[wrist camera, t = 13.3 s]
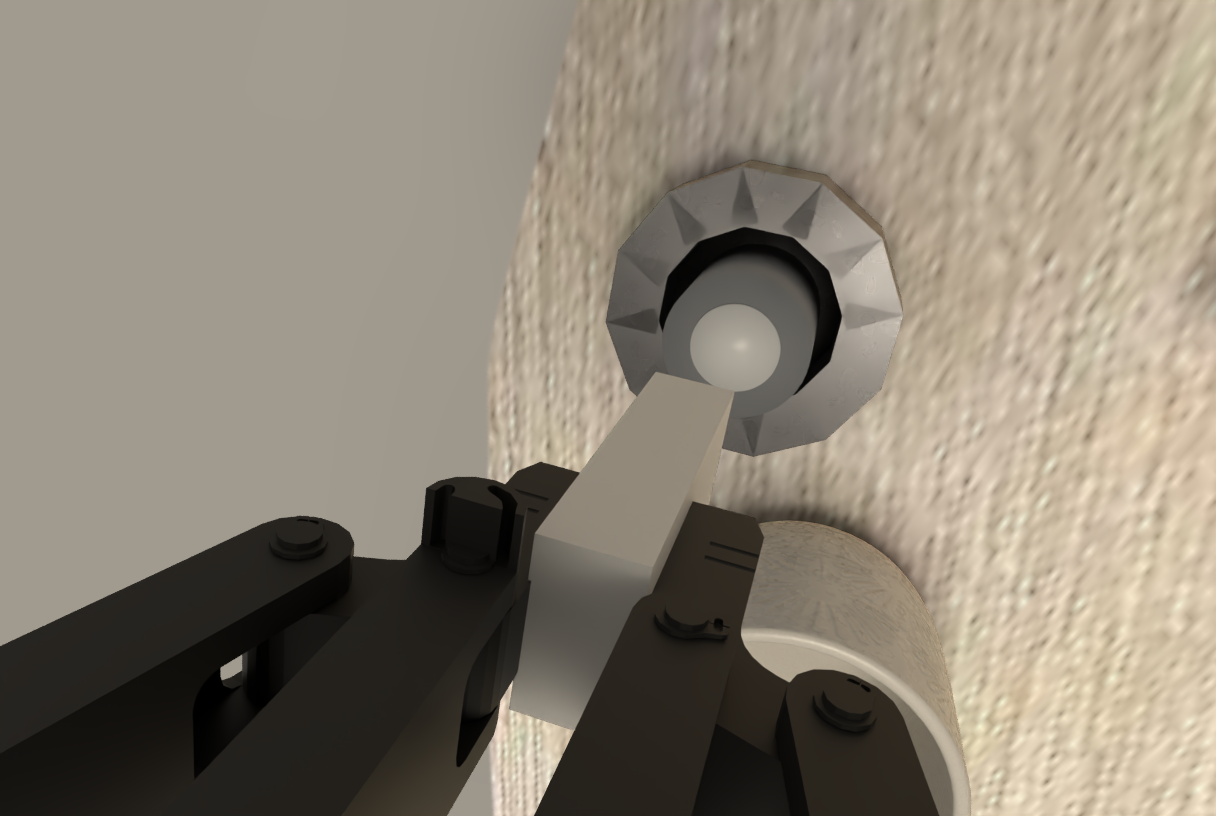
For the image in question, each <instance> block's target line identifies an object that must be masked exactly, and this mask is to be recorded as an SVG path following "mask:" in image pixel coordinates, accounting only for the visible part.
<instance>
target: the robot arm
mask: <svg viewBox="0 0 1216 816" xmlns="http://www.w3.org/2000/svg"><path fill="white" fill-rule="evenodd" d="M734 392H735V391H732V390H728V389H724V388H720V387H716V386H712V385H707V384H703V383H699V382H695V381H691V380H687V379H683V378H679V377H675V376H671V375H667V374H663V373H659V372H655V374H654V375H653V376H652V378H651V379H650V380H649V382H648V383H647V384H646V386H645V387H644V388H643V390H642V391H641V392H640V394H639V395H638V396H637V398H636V399H635V400H634V402H633V403H632V404H631V406H630V407H629V408H628V410H627V411H626V412H625V414H624V415H623V416H622V418H621V419H620V420H619V422H618V423H617V424H616V426H615V427H614V428H613V430H612V431H611V432H610V434H609V435H608V436H607V438H606V439H605V440H604V442H603V443H602V444H601V446H600V447H599V448H598V450H597V451H596V452H595V454H594V455H593V456H592V458H591V459H590V460H589V462H588V463H587V464H586V466H585V467H584V468H583V470H582V471H581V472H580V473H579V472H576V471H572V470H568V469H565V468H561V467H557V466H554V465H550V464H546V463H543V462H539V463H537V464H534V465H532V466H529V467H527V468H524V469H522V470H519V471H517V472H516V473H515V474H514V475H513V476H512V478H511V479H510V480H509V481H508V482H507V483H506V484H503V483H500V482H498V481H495V480H490V479H485V478H479V477H454V478H450V479H445V480H441V481H438V482H436V483H434V484H432V485H431V486H429V487H427V488H426V496H425V508H424V518H423V529H422V540H421V545H420V546H419V547H418V548H417V549H416V550H415V551H414V552H413V553H412V554H411V555H410V556H409V557H408V558H407V559H406V560H386V559H375V558H365V557H354V556H353V555H354V541H353V539H352V537H351V535H350V532H348V531H347V530H346V529H344V528H343V527H342V526H340V525H339V524H337V523H334V522H331V521H328V520H325V519H322V518H317V517H309V516H296V517H288V518H279V519H276V520H273V521H270V522H267V523H264V524H261V525H259V526H257V527H255V528H252V529H250V530H248V531H246V532H244V533H242V534H240V535H237V536H235V537H233V538H231V539H229V540H227V541H224V542H222V543H220V544H218V545H216V546H214V547H212V548H209V549H207V550H205V551H203V552H201V553H199V554H197V555H194V556H192V557H190V558H188V559H186V560H184V561H182V562H179V563H177V564H175V565H173V566H171V567H169V568H167V569H165V570H162V571H160V572H158V573H156V574H154V575H152V576H149V577H147V578H145V579H143V580H141V581H139V582H137V583H135V584H132V585H130V586H128V587H126V588H124V589H122V590H120V591H117V592H115V593H113V594H111V595H109V596H107V597H105V598H103V599H100V600H98V601H96V602H94V603H92V604H90V605H87V606H85V607H83V608H81V609H79V610H77V611H75V612H73V613H70V614H68V615H66V616H64V617H62V618H60V619H58V620H55V621H53V622H51V623H49V624H47V625H45V626H42V627H40V628H38V629H36V630H34V631H32V632H30V633H27V634H25V635H23V636H21V637H19V638H17V639H15V640H12V641H10V642H8V643H6V644H4V645H2V646H0V816H447V815H448V813H449V811H450V809H451V808H452V806H453V804H454V803H455V801H456V799H457V797H458V796H459V794H460V792H461V790H462V789H463V787H464V785H465V784H466V782H467V780H468V778H469V777H470V775H471V773H472V772H473V770H474V768H475V766H476V765H477V763H478V761H479V760H480V758H481V756H482V754H483V752H484V751H485V749H486V747H487V746H488V744H489V742H490V741H491V739H492V737H493V735H494V732H495V729H496V725H497V721H498V714H499V707H500V700H501V699H502V697H503V695H504V694H505V692H506V690H507V689H508V687H509V685H510V684H511V682H512V681H513V686H512V692H511V699H510V706H509V709H510V710H513V711H516V712H519V713H522V714H525V715H528V716H531V717H534V718H537V719H540V720H543V721H546V722H549V723H552V724H555V725H558V726H561V727H564V728H567V729H570V730H573V731H574V733H573V735H572V737H571V739H570V741H569V743H568V745H567V747H566V749H565V752H564V754H563V756H562V758H561V760H560V762H559V764H558V766H557V768H556V771H555V773H554V775H553V777H552V779H551V781H550V783H549V785H548V787H547V790H546V792H545V794H544V796H543V798H542V800H541V802H540V804H539V807H538V809H537V811H536V813H535V815H534V816H939V813H938V810H937V808H936V805H935V802H934V800H933V797H932V794H931V791H930V789H929V786H928V783H927V780H926V778H925V775H924V772H923V769H922V767H921V764H920V761H919V759H918V756H917V753H916V750H915V748H914V745H913V742H912V739H911V737H910V734H909V731H908V729H907V726H906V723H905V720H904V718H903V716H902V714H901V713H900V711H899V709H898V708H897V706H896V705H895V703H894V701H893V700H891V699H890V698H889V697H888V696H887V695H886V694H884V693H883V692H882V691H881V690H880V689H879V688H878V687H876V686H874V685H872V684H870V683H868V682H867V681H865V680H863V679H861V678H859V677H857V676H854V675H851V674H847V673H844V672H840V671H836V670H822V669H813V670H809V671H806V672H803V673H800V674H797V675H796V676H795V677H794V678H793V679H792V680H791V681H790V682H788V681H786V680H784V679H782V678H780V677H779V676H777V675H775V674H774V673H772V672H771V671H769V670H768V669H766V668H765V667H763V666H762V665H761V664H760V663H759V662H758V661H757V660H756V659H754V658H753V657H752V655H751V654H750V653H749V651H748V650H747V648H746V647H745V645H744V643H743V640H742V637H741V626H742V622H743V618H744V614H745V610H746V607H747V603H748V599H749V595H750V591H751V587H752V583H753V579H754V575H755V572H756V568H757V564H758V560H759V556H760V552H761V548H762V544H763V540H764V536H763V534H762V531H761V529H760V527H759V525H758V523H757V521H756V519H755V518H753V517H749V516H745V515H742V514H738V513H734V512H731V511H727V510H723V509H720V508H716V507H712V506H709V502H710V498H711V493H712V489H713V485H714V480H715V476H716V471H717V467H718V462H719V458H720V454H721V449H722V445H723V440H724V436H725V432H726V427H727V423H728V418H729V414H730V410H731V405H732V401H733V396H734ZM240 655H242V671H241V672H239V673H237V674H236V675H234V676H232V677H230V678H228V679H225V680H221V677H220V667H222V666H224V665H225V664H227V663H229V662H230V661H232V660H234V659H235V658H237V657H239V656H240Z"/></svg>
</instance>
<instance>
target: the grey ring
mask: <svg viewBox="0 0 1216 816" xmlns="http://www.w3.org/2000/svg"><path fill="white" fill-rule="evenodd" d="M747 244H765V245H771V246H775V247H778V248H780V249H783V250H785V251H787V252H789V253H790V254H792V255H794V256H795V257H796V258H797V259H799V260H800V261H801V262H802V263H803V264H804V265H805V266H806V267H807V269H808V270H809V272H810V273H811V274H812V276H813V278H814V280H815V282H816V285H817V287H818V291H819V295H820V304H821V309H820V318H819V323H818V327H817V332H816V337H815V341H814V346H813V351H812V355H811V360H810V364H809V368H808V371H807V374H806V376H805V378H804V380H803V382H802V383H801V385H800V386H799V388H798V389H797V391H796V392H795V393H794V394H793V395H792V396H791V397H790V398H789V399H788V400H787V401H786V402H784V403H783V404H782V405H780V406H779V407H777V408H776V409H774V410H771V411H769V412H767V413H764V414H761V415H758V416H753V417H747V418H730V417H729V418H728V423H727V427H726V432H725V436H724V440H723V445H722V448H723V449H726V450H730V451H734V452H738V453H742V454H746V455H749V456H753V457H754V456H758V455H763V454H767V453H771V452H775V451H780V450H784V449H788V448H792V447H797V446H801V445H805V444H810V443H814V442H818V441H822V440H826V439H827V438H828V437H829V436H830V435H831V434H833V433H834V432H835V431H836V430H837V429H838V428H839V427H840V426H841V425H842V424H843V423H845V422H846V421H847V420H848V419H849V418H850V417H851V416H852V415H853V414H854V413H856V412H857V411H858V410H859V409H860V408H861V407H862V406H863V405H864V404H865V403H866V402H868V401H869V400H870V399H871V398H872V397H873V396H874V395H875V394H876V393H877V392H879V391H880V390H881V388H882V385H883V382H884V378H885V375H886V371H887V368H888V365H889V361H890V358H891V355H892V351H893V348H894V345H895V341H896V338H897V335H898V331H899V328H900V325H901V321H902V318H903V309H902V301H901V296H900V292H899V288H898V285H897V281H896V277H895V274H894V270H893V266H892V263H891V259H890V256H889V252H888V248H887V245H886V241H885V237H884V234H883V230H882V226H881V225H880V224H879V223H878V222H876V221H875V220H874V219H873V218H872V217H871V216H870V215H869V214H868V213H867V212H866V211H865V210H863V209H862V208H861V207H860V206H859V205H858V204H857V203H856V202H855V201H854V200H853V199H852V198H850V197H849V196H848V195H847V194H846V193H845V192H844V191H843V190H842V189H841V188H840V187H839V186H837V185H836V184H835V183H834V182H833V181H832V180H831V179H830V178H829V177H828V176H827V175H824V174H819V173H814V172H809V171H804V170H799V169H794V168H789V167H784V166H779V165H774V164H769V163H765V162H760V161H755V160H751V161H748V162H745V163H742V164H739V165H736V166H733V167H731V168H728V169H725V170H722V171H719V172H716V173H713V174H710V175H708V176H705V177H702V178H699V179H696V180H693V181H690V182H687V183H685V184H682V185H680V186H678V187H677V188H675V189H673V190H671V191H669V192H668V193H667V194H666V195H665V196H664V197H663V198H662V199H661V201H660V202H659V203H658V204H657V205H656V207H655V208H654V209H653V210H652V211H651V212H650V214H649V215H648V216H647V217H646V218H645V220H644V221H643V222H642V223H641V224H640V225H639V227H638V228H637V229H636V230H635V231H634V233H633V234H632V235H631V236H630V237H629V238H628V240H627V241H626V242H625V243H624V244H623V245H622V247H621V248H620V249H619V250H618V255H617V261H616V266H615V272H614V278H613V284H612V289H611V295H610V301H609V306H608V312H607V318H606V324H607V327H608V330H609V333H610V336H611V338H612V341H613V344H614V347H615V350H616V353H617V355H618V358H619V361H620V364H621V367H622V369H623V372H624V375H625V378H626V381H627V384H628V386H629V389H630V390H631V391H632V392H633V393H634V394H635V395H636V396H638V395H639V394H640V392H641V391H642V390H643V388H644V387H645V386H646V384H647V383H648V382H649V380H650V379H651V378H652V376H653V375H654V374H655V372H659V373H663V374H667V375H669V373H668V371H667V369H666V366H665V362H664V358H663V352H662V336H663V329H664V326H665V322H666V319H667V317H668V315H669V312H670V311H671V309H672V307H673V306H674V304H675V303H676V302H677V300H678V299H679V298H680V297H681V295H682V294H683V293H684V292H685V291H686V290H687V289H688V287H689V286H690V285H691V284H692V283H693V282H694V281H695V279H696V278H697V277H698V276H699V275H700V274H701V273H702V272H703V270H704V269H705V268H706V267H707V266H708V265H709V264H710V263H711V262H712V261H713V260H714V259H715V258H716V257H718V256H719V255H720V254H722V253H724V252H726V251H727V250H729V249H732V248H735V247H738V246H742V245H747Z"/></svg>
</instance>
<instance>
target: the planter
mask: <svg viewBox="0 0 1216 816" xmlns="http://www.w3.org/2000/svg"><path fill="white" fill-rule="evenodd" d="M758 525H759V527H760V529H761V531H762V534H763V536H764V540H763V544H762V548H761V552H760V556H759V560H758V564H757V568H756V572H755V575H754V579H753V583H752V587H751V591H750V595H749V599H748V603H747V607H746V610H745V614H744V618H743V622H742V626H741V637H742V640H743V643H744V645H745V647H746V648H747V650H748V651H749V653H750V654H751V655H752V657H753V658H754V659H756V660H757V661H758V662H759V663H760V664H761V665H762V666H763V667H765V668H766V669H768V670H769V671H771V672H772V673H774V674H775V675H777V676H779V677H780V678H782V679H784V680H786V681H788V682H790V681H791V680H792V679H793V678H794V677H795V676H796V675H797V674H800V673H803V672H806V671H809V670H813V669H822V670H836V671H840V672H844V673H847V674H851V675H854V676H857V677H859V678H861V679H863V680H865V681H867V682H868V683H870V684H872V685H874V686H876V687H878V688H879V689H880V690H881V691H882V692H883V693H884V694H886V695H887V696H888V697H889V698H890V699H891V700H893V701H894V703H895V705H896V706H897V708H898V709H899V711H900V713H901V714H902V716H903V718H904V720H905V723H906V726H907V729H908V731H909V734H910V737H911V739H912V742H913V745H914V748H915V750H916V753H917V756H918V759H919V761H920V764H921V767H922V769H923V772H924V775H925V778H926V780H927V783H928V786H929V789H930V791H931V794H932V797H933V800H934V802H935V805H936V808H937V810H938V813H939V816H971V792H970V785H969V778H968V774H967V768H966V763H965V757H964V752H963V746H962V741H961V735H960V730H959V724H958V719H957V714H956V709H955V704H954V699H953V693H952V688H951V683H950V679H949V675H948V671H947V667H946V663H945V659H944V655H943V651H942V647H941V644H940V641H939V638H938V635H937V632H936V629H935V627H934V624H933V622H932V619H931V617H930V614H929V612H928V610H927V608H926V606H925V604H924V602H923V600H922V599H921V597H920V595H919V593H918V592H917V590H916V589H915V588H914V586H913V585H912V583H911V582H910V581H909V579H908V578H907V577H906V576H905V574H904V573H903V572H902V571H901V570H900V569H899V568H898V567H897V566H896V565H895V564H894V563H893V562H892V561H891V560H890V559H889V558H888V557H887V556H885V555H884V554H883V553H881V552H880V551H879V550H877V549H876V548H874V547H873V546H871V545H870V544H868V543H866V542H865V541H863V540H861V539H859V538H857V537H855V536H853V535H851V534H849V533H847V532H844V531H841V530H839V529H836V528H833V527H829V526H826V525H822V524H817V523H812V522H804V521H771V522H764V523H759V524H758Z"/></svg>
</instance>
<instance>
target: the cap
mask: <svg viewBox="0 0 1216 816" xmlns="http://www.w3.org/2000/svg"><path fill="white" fill-rule="evenodd" d="M820 309H821V304H820V295H819V291H818V287H817V285H816V282H815V280H814V278H813V276H812V274H811V273H810V272H809V270H808V269H807V267H806V266H805V265H804V264H803V263H802V262H801V261H800V260H799V259H797V258H796V257H795V256H794V255H792V254H790V253H789V252H787V251H785V250H783V249H780V248H778V247H775V246H771V245H765V244H747V245H742V246H738V247H735V248H732V249H729V250H727V251H726V252H724V253H722V254H720V255H719V256H718V257H716V258H715V259H714V260H713V261H712V262H711V263H710V264H709V265H708V266H707V267H706V268H705V269H704V270H703V272H702V273H701V274H700V275H699V276H698V277H697V278H696V279H695V281H694V282H693V283H692V284H691V285H690V286H689V287H688V289H687V290H686V291H685V292H684V293H683V294H682V295H681V297H680V298H679V299H678V300H677V302H676V303H675V304H674V306H673V307H672V309H671V311H670V312H669V315H668V317H667V319H666V322H665V326H664V329H663V336H662V352H663V358H664V362H665V366H666V369H667V371H668V373H669V375H671V376H675V377H679V378H683V379H687V380H691V381H695V382H699V383H703V384H707V385H712V386H716V387H720V388H724V389H728V390H732V391H735V392H734V396H733V401H732V405H731V410H730V414H729V417H730V418H747V417H753V416H758V415H761V414H764V413H767V412H769V411H771V410H774V409H776V408H777V407H779V406H780V405H782V404H783V403H784V402H786V401H787V400H788V399H789V398H790V397H791V396H792V395H793V394H794V393H795V392H796V391H797V389H798V388H799V386H800V385H801V383H802V382H803V380H804V378H805V376H806V374H807V371H808V368H809V364H810V360H811V355H812V351H813V346H814V341H815V337H816V332H817V327H818V323H819V318H820Z"/></svg>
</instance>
